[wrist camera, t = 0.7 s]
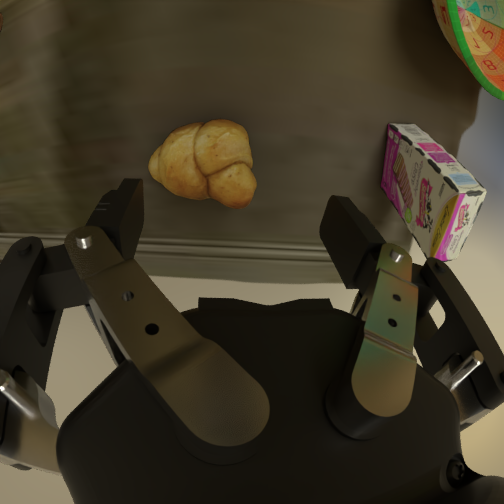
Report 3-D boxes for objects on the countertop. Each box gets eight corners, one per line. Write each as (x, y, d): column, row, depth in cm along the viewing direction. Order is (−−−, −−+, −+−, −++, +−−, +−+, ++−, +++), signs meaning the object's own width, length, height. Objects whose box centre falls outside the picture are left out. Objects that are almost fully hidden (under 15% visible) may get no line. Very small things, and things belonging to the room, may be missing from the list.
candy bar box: (385, 122, 32) (460, 192, 21) (414, 122, 32) (489, 189, 21) (377, 188, 40) (429, 268, 29) (403, 185, 40) (458, 260, 29)
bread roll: (155, 183, 36) (144, 221, 31) (147, 116, 29) (129, 143, 24) (250, 180, 38) (257, 217, 32) (255, 112, 31) (265, 138, 25)
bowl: (507, -9, 12) (553, 5, 5) (486, 95, 27) (529, 124, 20) (398, -85, 8) (447, -97, 1) (380, 43, 24) (430, 59, 17)
